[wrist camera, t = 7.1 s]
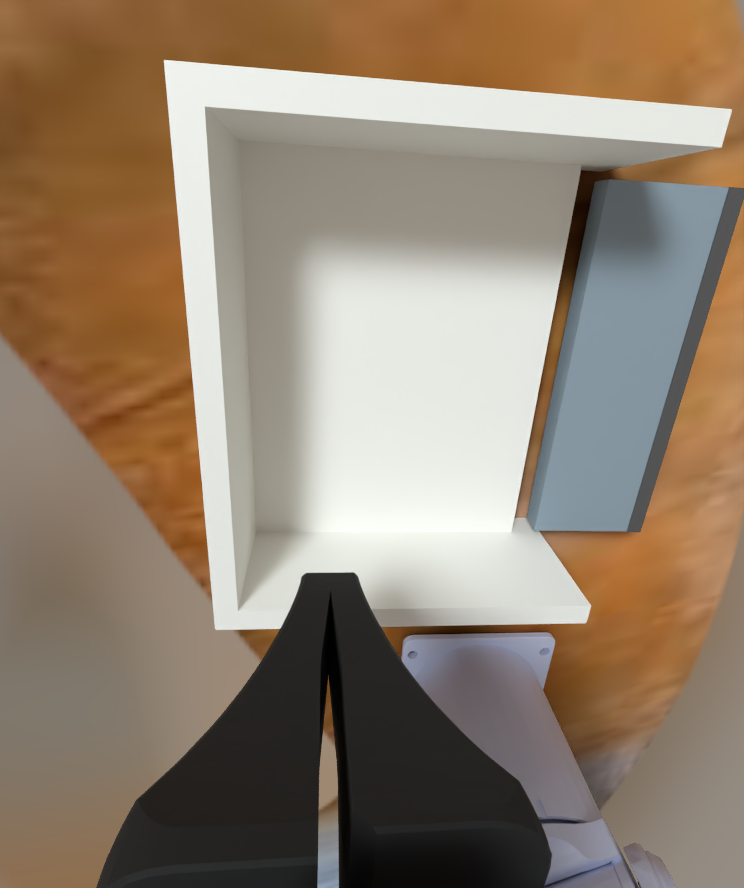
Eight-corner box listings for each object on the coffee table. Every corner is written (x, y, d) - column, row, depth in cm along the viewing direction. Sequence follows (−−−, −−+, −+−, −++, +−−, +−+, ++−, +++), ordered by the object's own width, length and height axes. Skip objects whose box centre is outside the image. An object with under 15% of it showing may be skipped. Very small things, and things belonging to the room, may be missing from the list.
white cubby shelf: (526, 532, 24) (586, 623, 18) (242, 532, 23) (215, 629, 17) (606, 145, 18) (732, 109, 12) (218, 115, 16) (163, 59, 11)
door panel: (526, 517, 23) (627, 518, 23) (534, 531, 22) (640, 532, 22) (594, 182, 17) (723, 190, 18) (610, 179, 16) (746, 188, 17)
